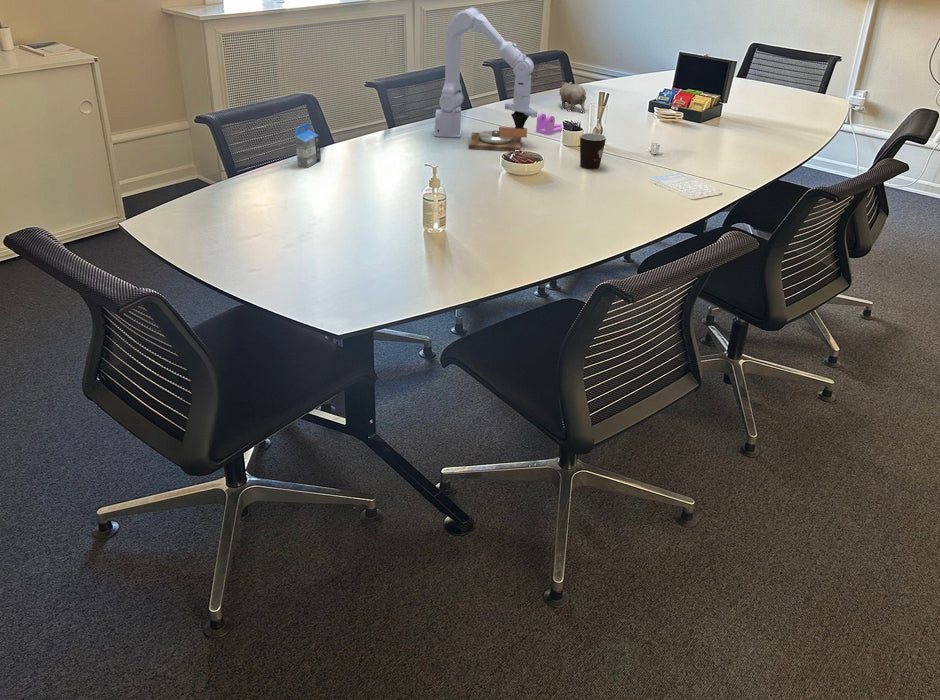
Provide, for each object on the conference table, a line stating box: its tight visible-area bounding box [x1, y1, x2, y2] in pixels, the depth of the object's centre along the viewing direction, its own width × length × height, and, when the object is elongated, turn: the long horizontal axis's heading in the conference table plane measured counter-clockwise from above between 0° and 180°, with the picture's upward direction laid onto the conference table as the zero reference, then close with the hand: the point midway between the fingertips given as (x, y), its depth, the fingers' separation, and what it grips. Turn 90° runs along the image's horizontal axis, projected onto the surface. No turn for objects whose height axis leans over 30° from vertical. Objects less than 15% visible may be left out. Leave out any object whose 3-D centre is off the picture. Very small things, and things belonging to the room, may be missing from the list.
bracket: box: [535, 112, 563, 136], centre depth 309 cm, size 13×6×7 cm, turn 135°
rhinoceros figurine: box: [559, 81, 587, 113], centre depth 340 cm, size 9×15×17 cm
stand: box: [468, 132, 522, 152], centre depth 291 cm, size 18×16×3 cm
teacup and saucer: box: [646, 142, 661, 155], centre depth 289 cm, size 9×8×4 cm
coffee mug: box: [579, 132, 607, 170], centre depth 272 cm, size 12×9×10 cm
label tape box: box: [294, 121, 322, 169], centre depth 261 cm, size 9×4×12 cm, turn 160°
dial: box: [479, 125, 528, 144], centre depth 290 cm, size 17×12×4 cm
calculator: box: [649, 172, 721, 197], centre depth 258 cm, size 13×20×2 cm, turn 32°
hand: (519, 133), depth 292 cm, fingers closed
